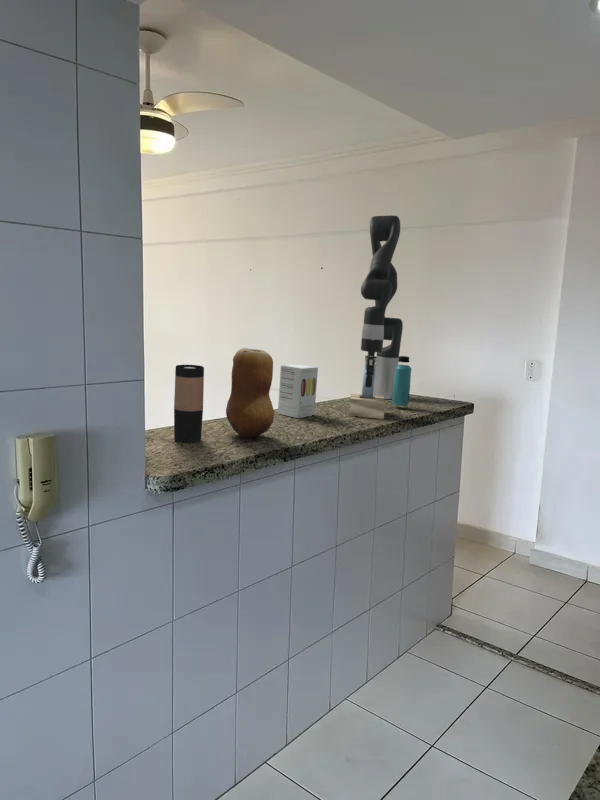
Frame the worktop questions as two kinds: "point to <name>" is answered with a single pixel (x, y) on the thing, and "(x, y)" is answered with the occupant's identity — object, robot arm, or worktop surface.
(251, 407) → the butternut squash
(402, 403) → the beverage bottle
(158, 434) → the worktop surface
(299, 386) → the supplement box
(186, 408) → the travel mug
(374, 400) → the socket block
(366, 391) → the peg
